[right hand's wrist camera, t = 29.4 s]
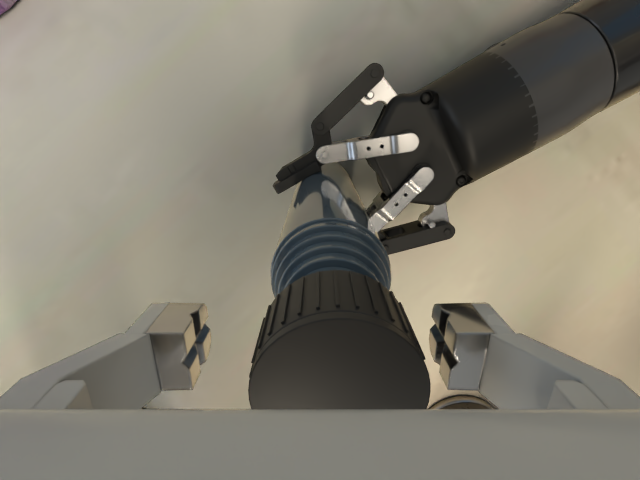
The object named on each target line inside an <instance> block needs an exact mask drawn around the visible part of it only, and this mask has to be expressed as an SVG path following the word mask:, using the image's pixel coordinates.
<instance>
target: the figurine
mask: <svg viewBox="0 0 640 480" xmlns="http://www.w3.org/2000/svg"><path fill="white" fill-rule="evenodd" d="M16 1H17V0H0V15H1V14H3V13H4V12H6V11H7V10H8V9H10V8H11V7H12V6H13V5H14V3H15V2H16Z"/></svg>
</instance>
